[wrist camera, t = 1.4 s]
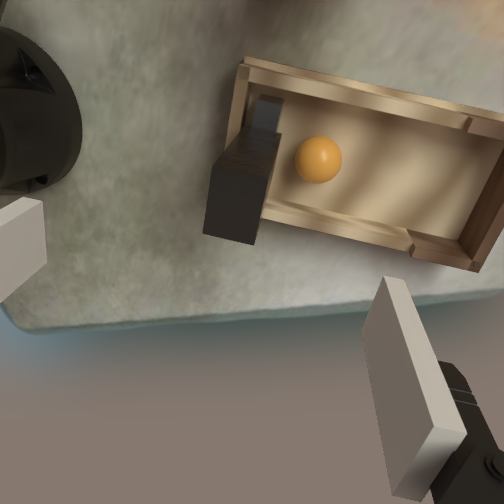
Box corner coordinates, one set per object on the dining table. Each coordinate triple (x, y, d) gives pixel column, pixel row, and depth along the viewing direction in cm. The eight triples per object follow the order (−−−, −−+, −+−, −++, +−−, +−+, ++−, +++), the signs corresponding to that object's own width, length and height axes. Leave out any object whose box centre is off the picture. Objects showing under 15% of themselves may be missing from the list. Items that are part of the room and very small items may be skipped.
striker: (239, 181, 38) (198, 263, 24) (255, 92, 34) (218, 127, 20) (270, 188, 38) (247, 274, 24) (290, 100, 34) (277, 140, 20)
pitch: (222, 197, 40) (211, 216, 36) (246, 56, 34) (237, 58, 30) (457, 251, 40) (475, 277, 35) (524, 118, 34) (557, 129, 29)
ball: (290, 170, 37) (289, 184, 34) (301, 127, 35) (301, 136, 32) (333, 180, 37) (335, 194, 34) (346, 137, 35) (350, 147, 32)
